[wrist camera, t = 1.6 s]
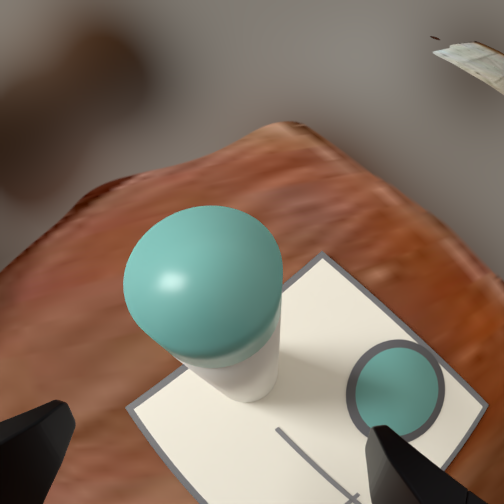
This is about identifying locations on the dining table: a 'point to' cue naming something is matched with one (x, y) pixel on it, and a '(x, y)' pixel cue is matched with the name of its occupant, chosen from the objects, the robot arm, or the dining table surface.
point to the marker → (211, 296)
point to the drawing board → (312, 403)
